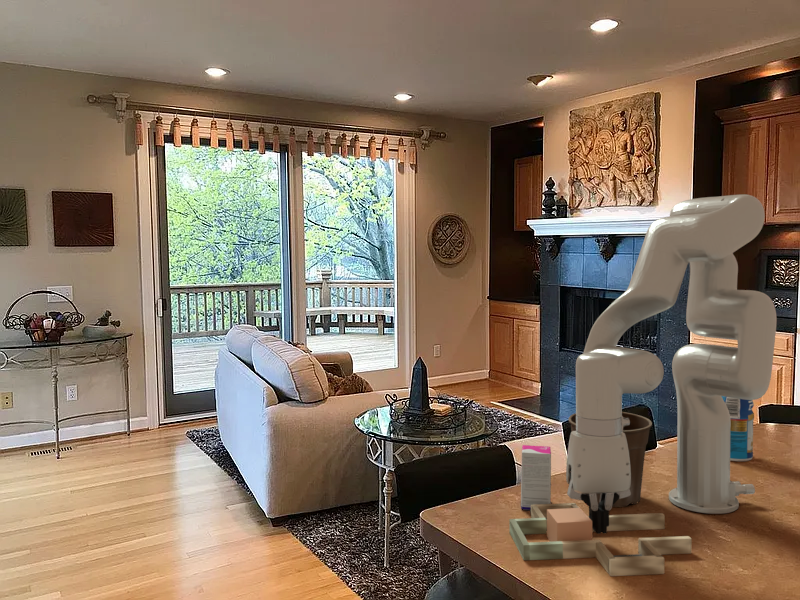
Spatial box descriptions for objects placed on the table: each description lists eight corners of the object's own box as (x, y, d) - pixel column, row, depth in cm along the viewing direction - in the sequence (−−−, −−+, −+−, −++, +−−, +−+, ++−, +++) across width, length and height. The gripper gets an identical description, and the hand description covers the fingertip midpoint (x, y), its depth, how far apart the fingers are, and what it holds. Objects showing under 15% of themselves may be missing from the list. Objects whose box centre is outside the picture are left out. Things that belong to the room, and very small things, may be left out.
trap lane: (647, 512, 127) (647, 500, 127) (711, 571, 103) (711, 556, 103) (502, 518, 126) (502, 505, 125) (533, 579, 102) (533, 563, 101)
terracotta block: (580, 535, 117) (580, 507, 117) (592, 550, 111) (592, 521, 111) (546, 537, 117) (546, 509, 117) (557, 552, 111) (557, 522, 111)
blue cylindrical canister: (706, 454, 163) (707, 373, 162) (734, 450, 166) (735, 371, 164) (733, 464, 155) (734, 379, 154) (761, 460, 157) (763, 376, 156)
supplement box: (551, 511, 128) (551, 453, 128) (520, 510, 130) (520, 452, 129) (550, 501, 134) (550, 445, 133) (521, 499, 135) (520, 444, 135)
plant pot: (659, 514, 126) (659, 430, 125) (572, 510, 129) (571, 428, 128) (643, 485, 142) (643, 411, 141) (566, 482, 145) (565, 409, 144)
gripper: (632, 418, 117) (632, 520, 118) (549, 421, 116) (550, 523, 117) (650, 429, 110) (650, 537, 111) (562, 432, 109) (562, 541, 110)
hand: (598, 530), depth 114 cm, fingers closed
